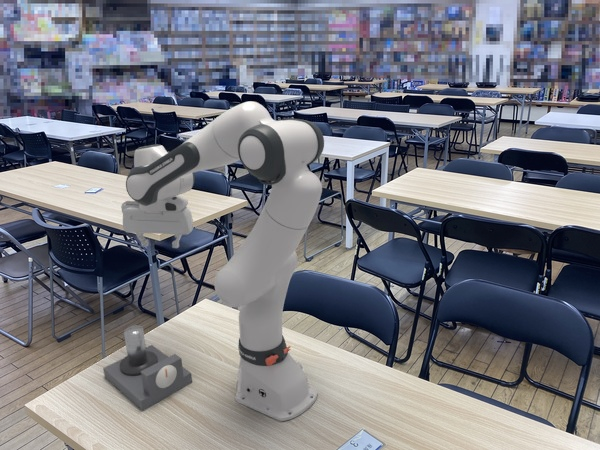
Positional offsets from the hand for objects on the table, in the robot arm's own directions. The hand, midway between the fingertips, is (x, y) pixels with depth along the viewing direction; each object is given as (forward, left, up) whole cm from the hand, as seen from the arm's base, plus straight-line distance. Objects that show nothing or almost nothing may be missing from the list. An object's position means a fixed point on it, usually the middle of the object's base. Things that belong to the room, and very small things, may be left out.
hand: (160, 246), depth 140 cm
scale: (-13, +16, -31) cm, 37 cm away
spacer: (-9, +16, -27) cm, 33 cm away
